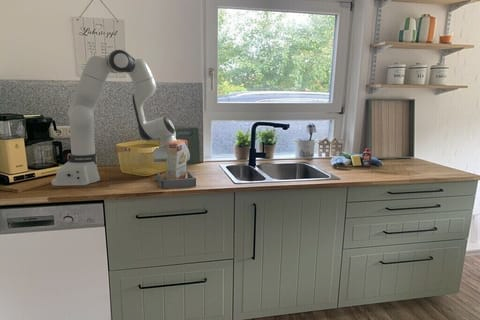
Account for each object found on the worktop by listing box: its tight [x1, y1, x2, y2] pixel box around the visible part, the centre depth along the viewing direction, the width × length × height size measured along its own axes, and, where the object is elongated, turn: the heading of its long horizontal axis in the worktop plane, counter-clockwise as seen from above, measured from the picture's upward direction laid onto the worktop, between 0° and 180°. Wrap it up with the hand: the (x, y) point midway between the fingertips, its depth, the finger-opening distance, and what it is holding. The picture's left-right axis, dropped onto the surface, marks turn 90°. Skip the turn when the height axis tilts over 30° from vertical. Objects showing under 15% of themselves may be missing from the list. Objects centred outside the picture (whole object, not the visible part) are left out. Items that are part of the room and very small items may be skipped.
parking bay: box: [156, 170, 197, 190], centre depth 176 cm, size 17×17×4 cm
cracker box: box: [165, 139, 189, 180], centre depth 178 cm, size 14×6×21 cm, turn 167°
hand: (172, 167), depth 185 cm, fingers closed
